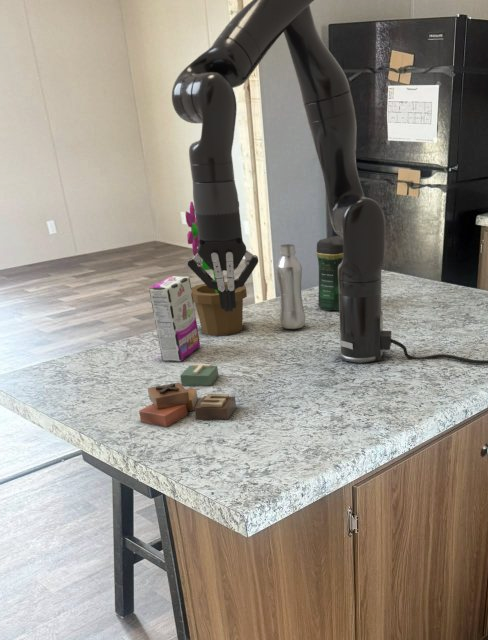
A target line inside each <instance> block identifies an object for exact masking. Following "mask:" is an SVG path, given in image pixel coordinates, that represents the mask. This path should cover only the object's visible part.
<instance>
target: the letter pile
mask: <svg viewBox="0 0 488 640" xmlns="http://www.w3.org/2000/svg"><path fill="white" fill-rule="evenodd" d="M147 393H148V398H149V400H150V402H151V403H152V404H150V405H148V406H146V407H144V408H141V409H139V411H138V414H139V418H140V419H139V420H140V422H141V423H145V424H150V425H154V426H160V427H164V428H168V427H170V426H171V425H173V424H175V423H176V422H178V421H181V420H182V419H184V418H185V417H187V416H188V412H193V411H195V407H196V406H197V402H198V391H197V388H185V387H184V385H182V383H181V382H179V381H178V382H173V383H172V382H171V383H168V384H162V385H157V386H153V387H148V388H147Z"/></svg>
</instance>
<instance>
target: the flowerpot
mask: <svg viewBox="0 0 488 640" xmlns="http://www.w3.org/2000/svg"><path fill="white" fill-rule="evenodd" d="M185 221H186V224H187V226H188V228H190V230H189V231H188V232H187V235H186V236H187V244H188V245H191V247H192V254H193V257H194V256H195V255H196V254H197V253H198V252H197V249H198V246H199V237H198V230H197V222H196V215H195V208H194V201H190V204H189V212H188V211H187V210H186V211H185ZM201 261H202V263H203V265H202V268H203V269H204V270H205V271H209V270H211V269H210V267H209V266H208V265H207V264H206V263H205V262H204V261H203V260H201ZM212 271H213V270H212ZM213 279H214V280H215V281H217V280H216V277H215V272H214V271H213ZM227 286H228V285H227V281H225V288H226V289H228V288H227ZM191 290H192V297H193V303H194V306H195V308H196V309H195V310H196V311H197V315H198V316H197V317H198V320H199V324H200V327H201V331H202V333H203V334H205V335H208V336H217V337H218V336H229V335H233V334H238V333H239V332H241V331H243V321H244V319H243V315H244V313H243V310H244V309H243V307H244V304H243V303H244V299H246V298H247V297H248V295H247V287H246V284H244V286H243V287H239V288H237V289H235V296H236V308H233V312H225V309H222V308H221V305H220V297H219V292H218V291H217V290H216V289H213V288H212V289H211V288H209V287H208V286H207V285H206V284H205V283H203V284H198V285H194V286H191Z"/></svg>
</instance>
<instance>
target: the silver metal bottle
mask: <svg viewBox="0 0 488 640" xmlns="http://www.w3.org/2000/svg"><path fill="white" fill-rule="evenodd" d="M295 246H296V245H295V244H291V243H289V244H288V243H287V244H280V245H279V255H280V257H279V259H278V261H277V263H276V265H275V273H276V279H277V284H278V289H279V296H280V297H279V298H280V300H279V301H280V302H279V303H280V307H279V308H280V311H279V322H280V325H281V326H282V328H284V329H287V330H296V329H301V328H303V327H304V326H305V324H306V312H305V309H304V304H303V298H302V275H303V268H302V264H301V262H300V261H299V259H298V258H297V257H296V247H295Z"/></svg>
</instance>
